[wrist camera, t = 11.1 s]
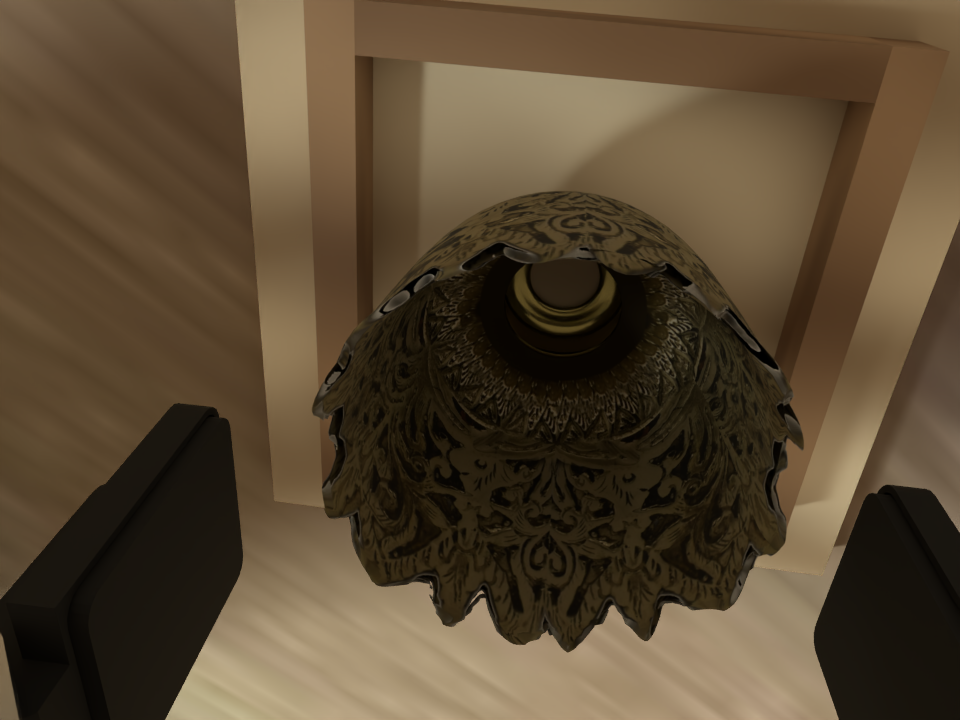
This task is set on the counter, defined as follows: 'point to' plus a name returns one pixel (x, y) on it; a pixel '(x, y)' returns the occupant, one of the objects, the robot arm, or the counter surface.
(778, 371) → the ornate lamp shade
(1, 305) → the counter surface
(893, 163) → the square wooden tray
